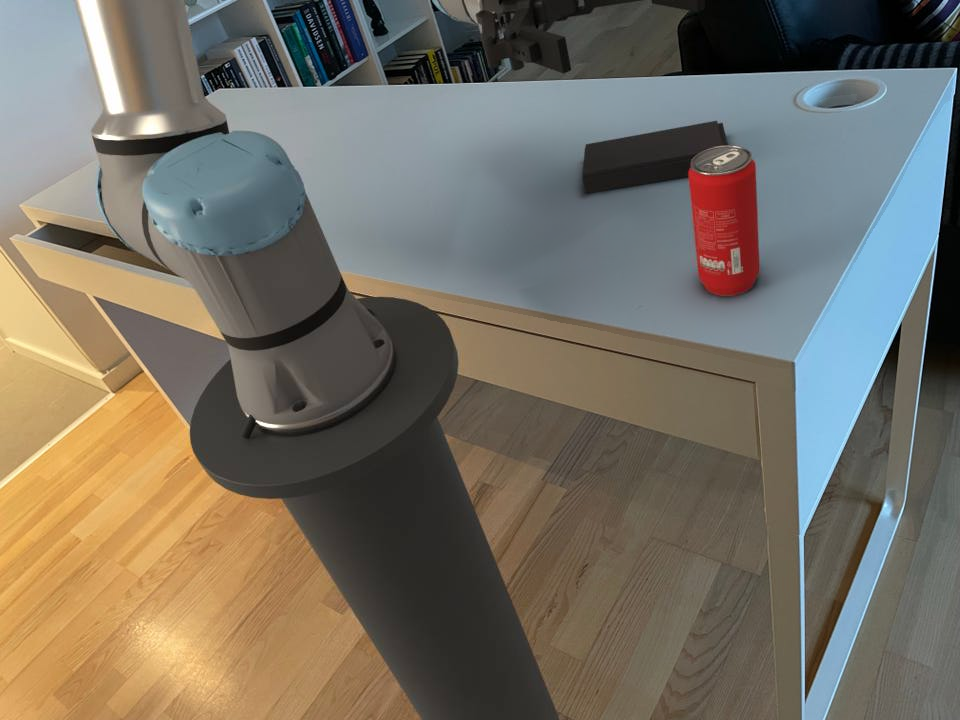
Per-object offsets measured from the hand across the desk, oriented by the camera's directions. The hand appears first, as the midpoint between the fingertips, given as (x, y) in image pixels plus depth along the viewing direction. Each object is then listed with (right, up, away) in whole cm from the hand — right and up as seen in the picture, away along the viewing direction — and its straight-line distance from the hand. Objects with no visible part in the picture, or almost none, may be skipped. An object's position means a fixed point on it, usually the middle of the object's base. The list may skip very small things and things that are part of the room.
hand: (634, 24), depth 63 cm
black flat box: (+8, -5, +26) cm, 27 cm away
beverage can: (+10, -21, +6) cm, 24 cm away
